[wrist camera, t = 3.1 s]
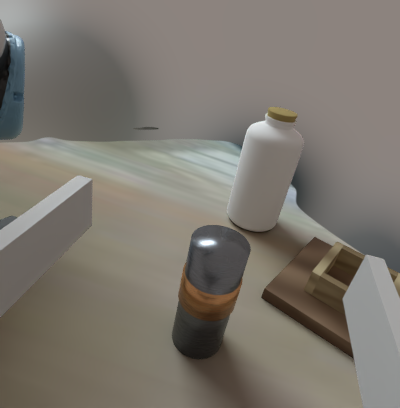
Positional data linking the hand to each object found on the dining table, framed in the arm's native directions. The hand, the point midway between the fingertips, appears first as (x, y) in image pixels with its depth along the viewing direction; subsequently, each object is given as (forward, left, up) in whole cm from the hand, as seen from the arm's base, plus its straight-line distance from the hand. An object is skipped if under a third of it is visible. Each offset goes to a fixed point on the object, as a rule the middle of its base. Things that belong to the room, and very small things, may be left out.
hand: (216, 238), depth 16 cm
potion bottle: (+33, +12, -19) cm, 40 cm away
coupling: (+9, +4, -19) cm, 22 cm away
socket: (+27, -6, -19) cm, 33 cm away
